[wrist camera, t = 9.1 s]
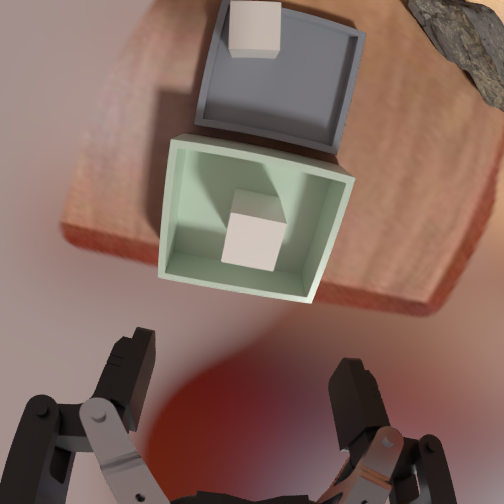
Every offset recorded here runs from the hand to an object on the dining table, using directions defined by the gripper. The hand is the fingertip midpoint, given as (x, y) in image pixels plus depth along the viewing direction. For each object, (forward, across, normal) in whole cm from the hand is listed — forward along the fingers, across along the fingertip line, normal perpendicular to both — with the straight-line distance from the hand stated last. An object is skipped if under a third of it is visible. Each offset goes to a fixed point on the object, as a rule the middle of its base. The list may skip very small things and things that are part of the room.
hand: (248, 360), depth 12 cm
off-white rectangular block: (+17, 0, 0) cm, 17 cm away
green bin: (+18, 0, 0) cm, 18 cm away
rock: (+18, -18, -23) cm, 34 cm away
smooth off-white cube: (+17, +3, -15) cm, 23 cm away
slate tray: (+18, 0, -12) cm, 22 cm away
